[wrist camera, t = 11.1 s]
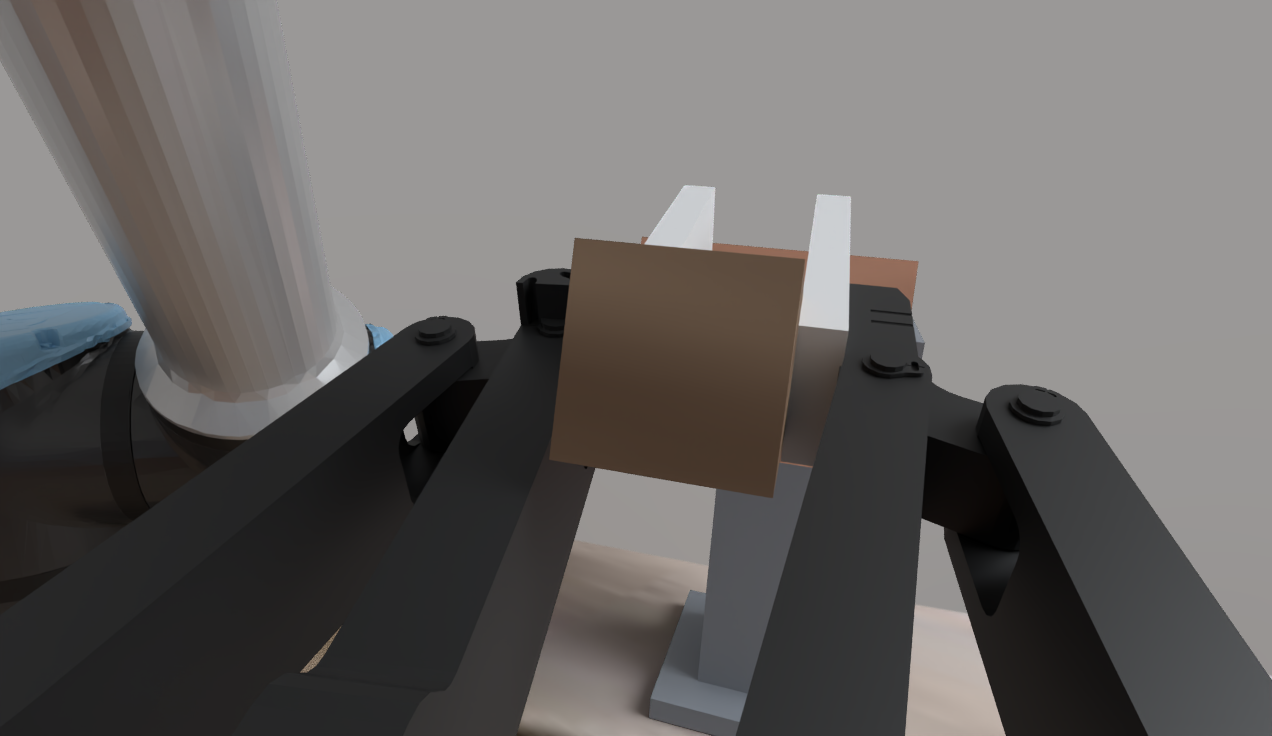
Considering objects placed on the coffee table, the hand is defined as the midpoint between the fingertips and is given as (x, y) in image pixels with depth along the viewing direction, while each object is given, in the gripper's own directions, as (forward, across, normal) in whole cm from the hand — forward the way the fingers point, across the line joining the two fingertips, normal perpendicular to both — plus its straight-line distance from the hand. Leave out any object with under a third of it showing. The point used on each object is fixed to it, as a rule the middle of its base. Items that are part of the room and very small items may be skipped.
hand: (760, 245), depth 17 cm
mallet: (-2, 0, -6) cm, 6 cm away
